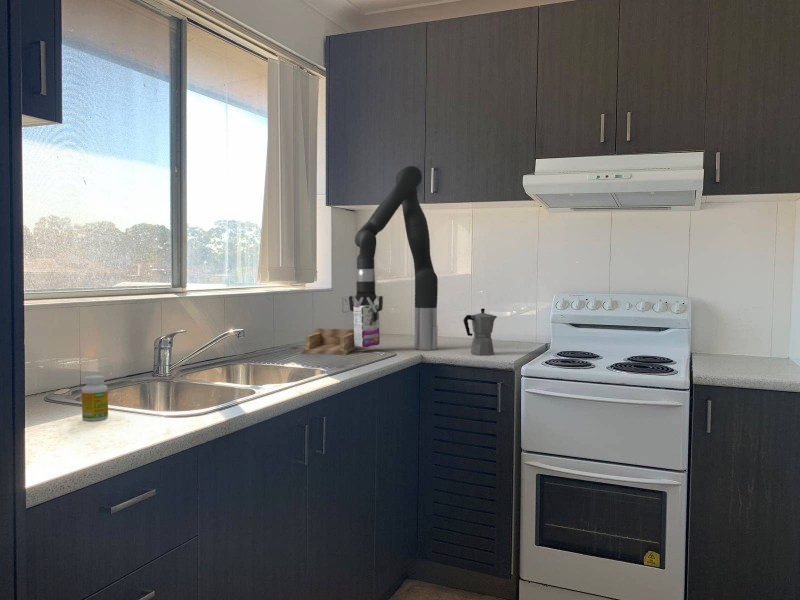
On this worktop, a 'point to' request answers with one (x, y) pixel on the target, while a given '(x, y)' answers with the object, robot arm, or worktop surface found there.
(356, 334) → the candy bar box
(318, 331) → the walnut rack
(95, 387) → the supplement bottle
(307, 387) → the worktop surface
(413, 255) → the robot arm
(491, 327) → the coffeepot
